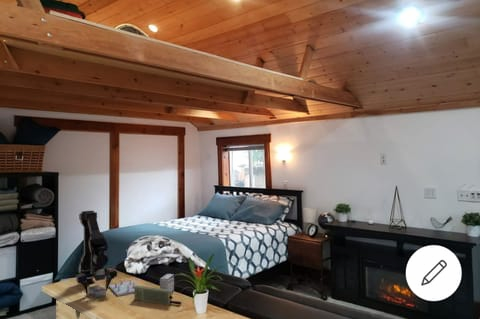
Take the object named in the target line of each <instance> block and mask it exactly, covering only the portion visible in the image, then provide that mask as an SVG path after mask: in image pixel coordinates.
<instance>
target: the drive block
mask: <svg viewBox="0 0 480 319" xmlns="http://www.w3.org/2000/svg"><path fill="white" fill-rule="evenodd" d="M87 289H88V295H89V296H91V297H93V298H94V299H100V298H103V297H106V296H107V291H106V288H104V287H102V286H101V285H99V284H96V285H92V286H89V287H88V286H87Z"/></svg>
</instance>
